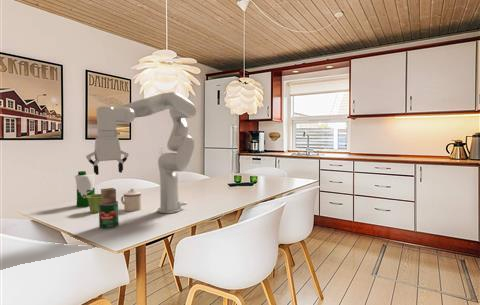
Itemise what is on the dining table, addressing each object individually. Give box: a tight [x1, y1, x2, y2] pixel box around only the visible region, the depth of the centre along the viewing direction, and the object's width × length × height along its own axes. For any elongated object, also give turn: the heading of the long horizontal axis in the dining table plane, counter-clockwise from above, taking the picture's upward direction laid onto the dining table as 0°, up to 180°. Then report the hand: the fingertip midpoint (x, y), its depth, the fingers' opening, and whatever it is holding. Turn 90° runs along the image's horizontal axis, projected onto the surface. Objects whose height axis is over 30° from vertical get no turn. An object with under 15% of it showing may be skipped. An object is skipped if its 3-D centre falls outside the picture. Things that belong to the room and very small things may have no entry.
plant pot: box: [86, 193, 101, 214], centre depth 150 cm, size 9×9×9 cm
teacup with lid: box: [120, 188, 142, 212], centre depth 155 cm, size 12×9×12 cm
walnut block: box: [100, 187, 117, 204], centre depth 124 cm, size 5×5×6 cm
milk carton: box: [74, 170, 96, 208], centre depth 164 cm, size 9×9×20 cm
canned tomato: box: [98, 200, 120, 231], centre depth 125 cm, size 8×8×11 cm
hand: (108, 173), depth 124 cm, fingers open, 9 cm apart
